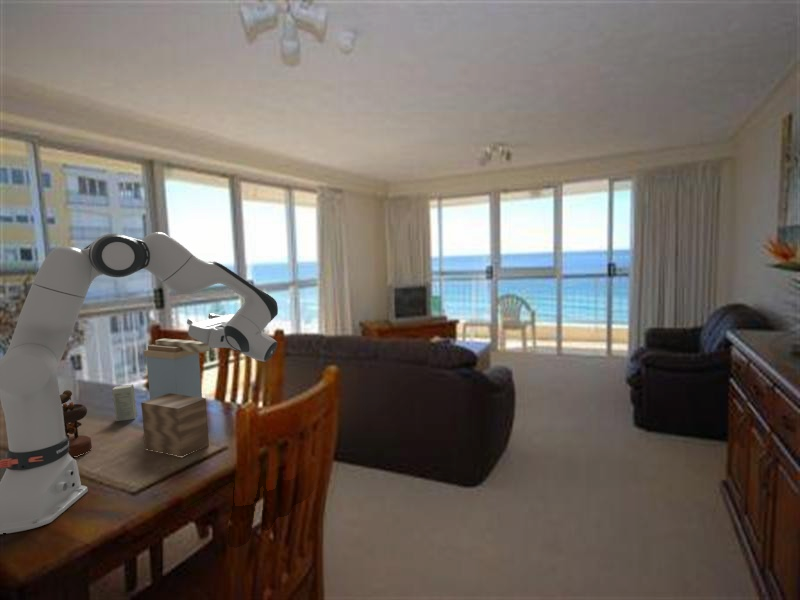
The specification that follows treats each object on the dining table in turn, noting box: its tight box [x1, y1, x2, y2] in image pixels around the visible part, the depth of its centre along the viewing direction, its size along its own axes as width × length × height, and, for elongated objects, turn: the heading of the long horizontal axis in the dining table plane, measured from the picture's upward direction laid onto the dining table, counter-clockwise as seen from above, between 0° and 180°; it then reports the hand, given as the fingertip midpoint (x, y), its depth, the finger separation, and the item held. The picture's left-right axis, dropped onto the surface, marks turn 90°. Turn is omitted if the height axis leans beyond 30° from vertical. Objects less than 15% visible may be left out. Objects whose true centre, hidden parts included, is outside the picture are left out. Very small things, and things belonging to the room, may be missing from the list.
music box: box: [60, 389, 93, 457], centre depth 142 cm, size 15×11×20 cm
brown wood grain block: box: [141, 393, 210, 456], centre depth 143 cm, size 16×10×15 cm, turn 65°
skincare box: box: [111, 383, 138, 422], centre depth 171 cm, size 6×4×12 cm
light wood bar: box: [155, 338, 210, 354], centre depth 160 cm, size 22×4×3 cm, turn 65°
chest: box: [143, 344, 203, 400], centre depth 164 cm, size 15×11×28 cm
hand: (199, 317), depth 155 cm, fingers open, 8 cm apart
